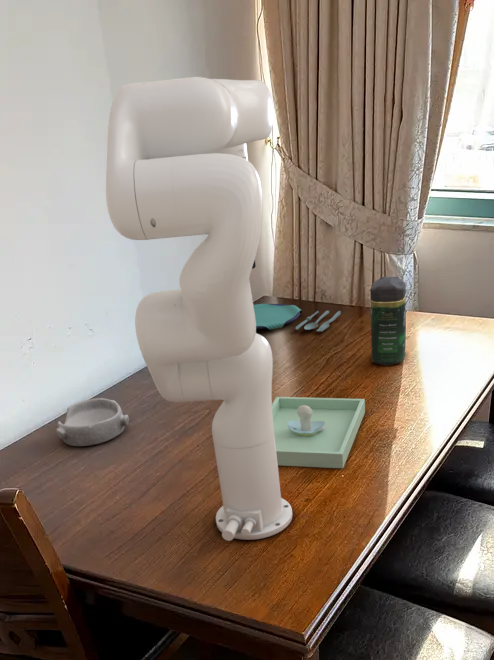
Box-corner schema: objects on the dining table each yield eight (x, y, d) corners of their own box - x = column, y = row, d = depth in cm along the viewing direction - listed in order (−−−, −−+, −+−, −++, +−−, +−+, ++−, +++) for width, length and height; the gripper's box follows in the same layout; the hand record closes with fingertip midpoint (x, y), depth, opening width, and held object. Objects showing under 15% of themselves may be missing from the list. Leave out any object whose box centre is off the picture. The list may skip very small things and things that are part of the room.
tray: (343, 468, 139) (342, 454, 138) (244, 463, 144) (242, 449, 142) (365, 412, 158) (364, 398, 157) (277, 409, 163) (276, 396, 161)
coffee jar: (404, 366, 177) (403, 285, 167) (369, 366, 178) (367, 286, 169) (407, 351, 185) (407, 273, 175) (374, 351, 186) (372, 274, 177)
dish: (61, 454, 154) (55, 431, 151) (59, 426, 165) (53, 404, 163) (133, 440, 156) (128, 417, 154) (127, 413, 168) (122, 392, 165)
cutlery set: (249, 308, 224) (248, 300, 223) (346, 314, 212) (345, 306, 210) (215, 331, 209) (214, 323, 208) (316, 339, 197) (316, 330, 195)
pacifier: (293, 425, 155) (286, 437, 150) (291, 395, 151) (283, 407, 146) (329, 426, 153) (323, 439, 148) (327, 396, 150) (321, 408, 145)
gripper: (221, 162, 134) (233, 263, 143) (185, 181, 120) (201, 291, 129) (263, 160, 132) (272, 262, 141) (230, 178, 118) (243, 290, 127)
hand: (238, 276), depth 135 cm, fingers open, 9 cm apart
